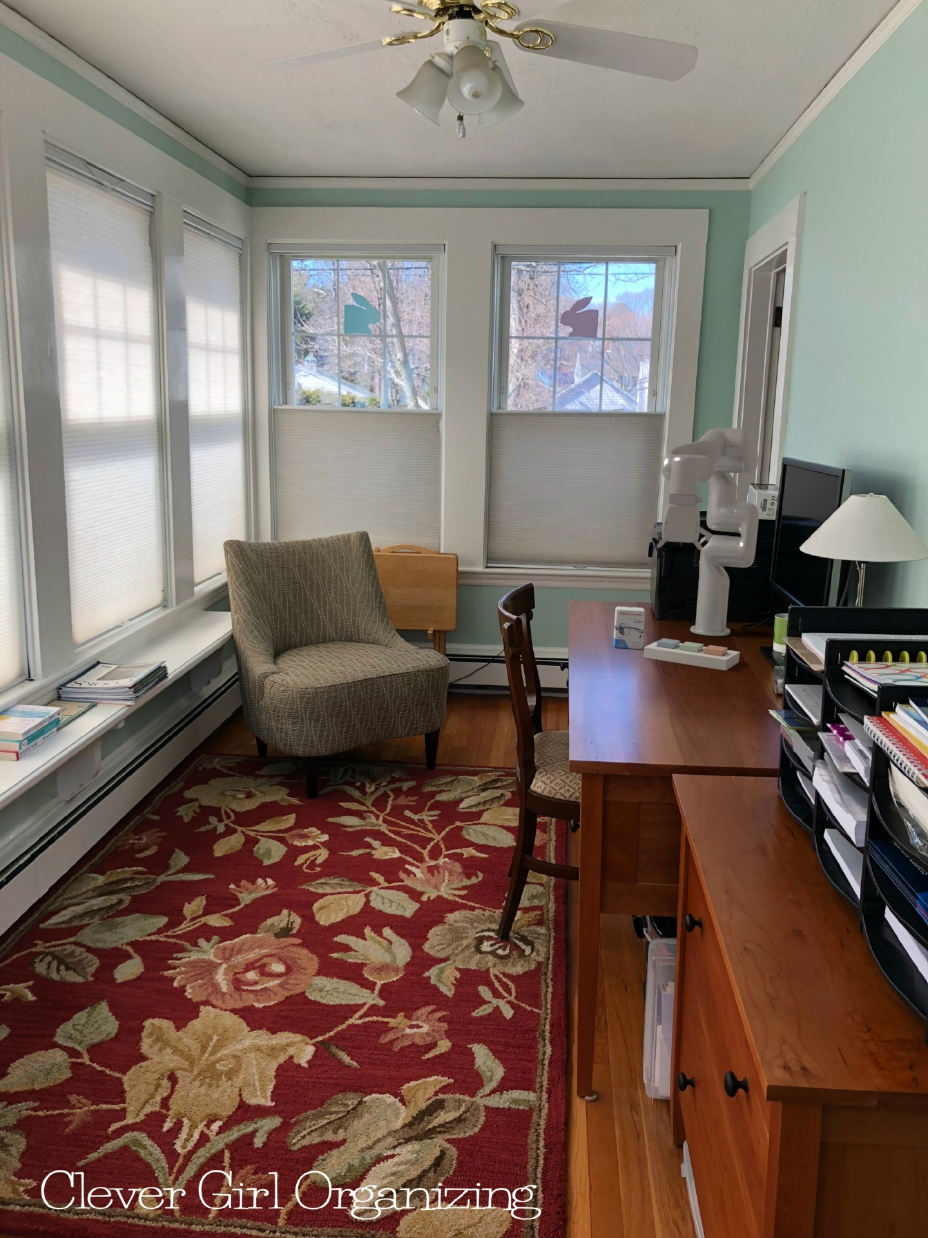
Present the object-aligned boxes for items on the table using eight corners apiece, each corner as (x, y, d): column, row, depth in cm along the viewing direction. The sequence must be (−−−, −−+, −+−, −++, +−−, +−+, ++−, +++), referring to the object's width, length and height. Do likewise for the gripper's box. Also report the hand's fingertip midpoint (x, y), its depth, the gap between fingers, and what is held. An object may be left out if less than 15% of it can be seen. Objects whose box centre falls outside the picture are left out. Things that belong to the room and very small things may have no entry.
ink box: (613, 648, 289) (616, 609, 287) (612, 644, 294) (615, 606, 292) (643, 649, 288) (645, 610, 286) (641, 645, 293) (644, 607, 291)
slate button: (662, 647, 283) (663, 638, 283) (679, 649, 281) (679, 640, 280) (656, 650, 279) (657, 641, 279) (673, 652, 277) (673, 643, 276)
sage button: (685, 650, 280) (686, 641, 279) (702, 653, 277) (703, 644, 277) (679, 653, 276) (680, 644, 275) (696, 656, 273) (697, 647, 272)
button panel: (658, 649, 288) (659, 640, 287) (738, 662, 275) (739, 651, 275) (643, 657, 278) (643, 647, 277) (725, 670, 265) (726, 659, 265)
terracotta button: (709, 654, 276) (710, 645, 276) (726, 657, 273) (727, 647, 273) (703, 657, 272) (704, 648, 271) (721, 660, 269) (722, 650, 269)
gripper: (714, 501, 270) (709, 562, 273) (651, 498, 273) (646, 559, 276) (715, 503, 262) (710, 566, 265) (650, 500, 265) (646, 562, 269)
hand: (678, 562), depth 271 cm, fingers open, 9 cm apart
